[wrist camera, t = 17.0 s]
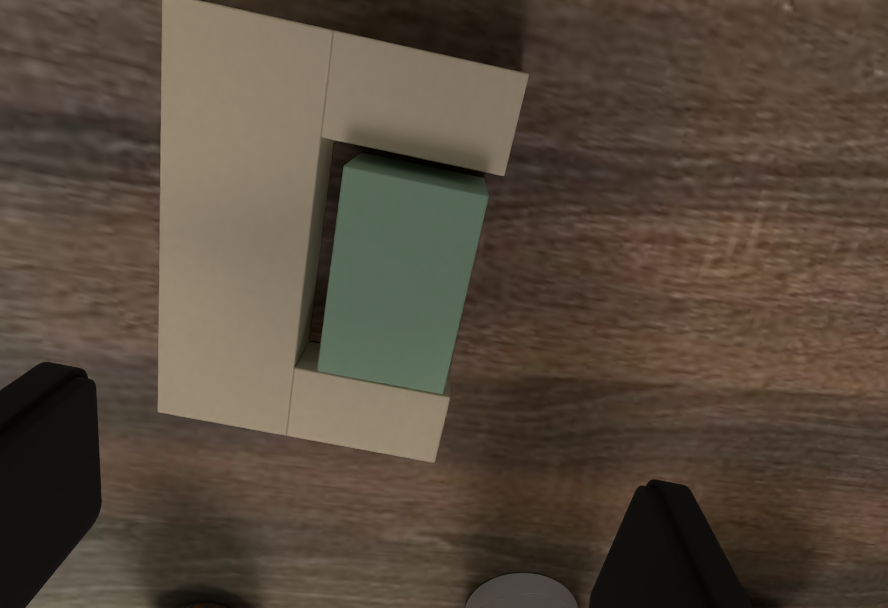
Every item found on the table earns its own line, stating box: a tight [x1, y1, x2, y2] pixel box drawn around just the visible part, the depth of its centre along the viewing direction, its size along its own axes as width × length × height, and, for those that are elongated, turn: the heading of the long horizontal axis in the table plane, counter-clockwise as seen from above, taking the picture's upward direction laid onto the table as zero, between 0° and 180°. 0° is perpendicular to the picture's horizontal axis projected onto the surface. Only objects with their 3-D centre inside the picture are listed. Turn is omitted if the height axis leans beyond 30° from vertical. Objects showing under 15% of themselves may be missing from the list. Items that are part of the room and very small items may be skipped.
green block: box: [317, 153, 489, 394], centre depth 22 cm, size 8×5×4 cm, turn 169°
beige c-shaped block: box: [158, 0, 529, 462], centre depth 22 cm, size 16×12×2 cm
